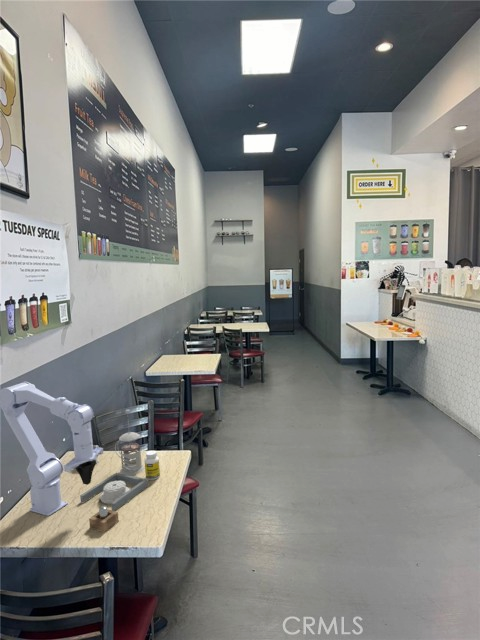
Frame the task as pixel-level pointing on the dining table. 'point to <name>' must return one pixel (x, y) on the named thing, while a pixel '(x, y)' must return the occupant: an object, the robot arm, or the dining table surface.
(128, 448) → the french press
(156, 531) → the dining table surface
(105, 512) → the pin
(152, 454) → the supplement bottle
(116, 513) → the hollow wooden square
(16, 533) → the dining table surface
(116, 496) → the mechanical component
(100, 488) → the grey u-shaped bracket
